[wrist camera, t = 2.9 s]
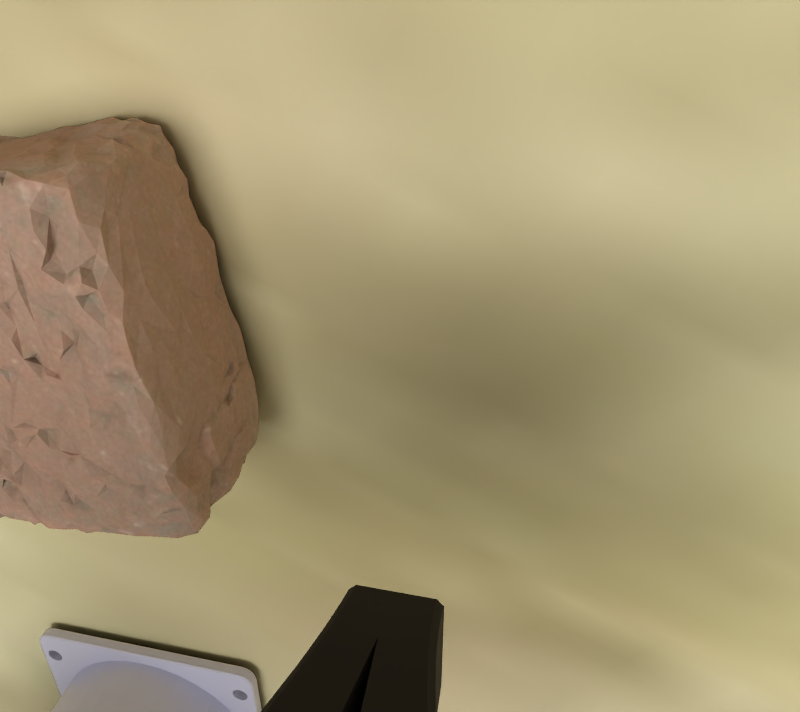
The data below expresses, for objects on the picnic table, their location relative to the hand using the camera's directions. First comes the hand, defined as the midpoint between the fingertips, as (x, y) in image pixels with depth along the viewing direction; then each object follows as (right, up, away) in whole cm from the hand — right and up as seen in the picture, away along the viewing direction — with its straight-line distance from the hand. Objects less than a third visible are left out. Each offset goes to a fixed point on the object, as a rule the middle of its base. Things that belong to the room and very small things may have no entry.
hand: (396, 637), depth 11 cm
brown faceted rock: (-11, +6, +9) cm, 16 cm away
